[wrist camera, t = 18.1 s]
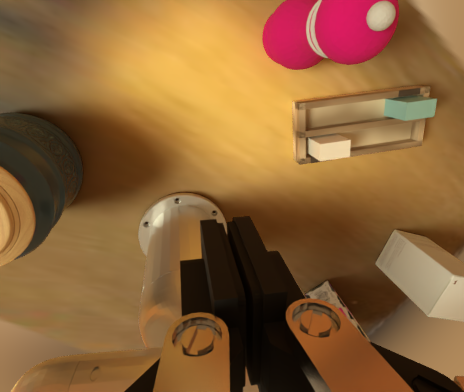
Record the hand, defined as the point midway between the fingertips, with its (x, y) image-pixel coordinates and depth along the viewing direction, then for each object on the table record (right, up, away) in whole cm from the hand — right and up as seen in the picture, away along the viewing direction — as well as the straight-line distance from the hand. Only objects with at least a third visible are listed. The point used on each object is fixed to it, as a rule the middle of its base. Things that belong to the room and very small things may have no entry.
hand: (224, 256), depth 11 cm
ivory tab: (+12, +9, +33) cm, 36 cm away
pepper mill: (+7, +22, +28) cm, 36 cm away
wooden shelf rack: (+17, +12, +33) cm, 40 cm away
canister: (-25, +6, +28) cm, 38 cm away
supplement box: (+29, -7, +44) cm, 54 cm away
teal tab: (+23, +15, +32) cm, 42 cm away
